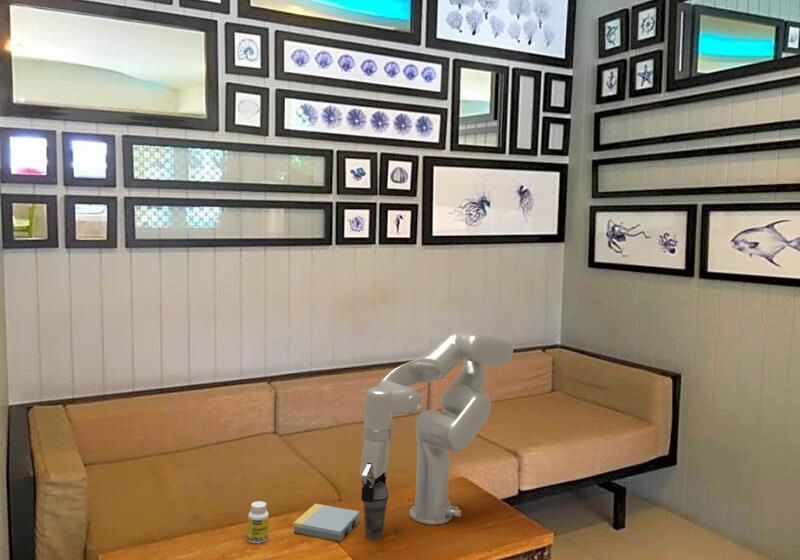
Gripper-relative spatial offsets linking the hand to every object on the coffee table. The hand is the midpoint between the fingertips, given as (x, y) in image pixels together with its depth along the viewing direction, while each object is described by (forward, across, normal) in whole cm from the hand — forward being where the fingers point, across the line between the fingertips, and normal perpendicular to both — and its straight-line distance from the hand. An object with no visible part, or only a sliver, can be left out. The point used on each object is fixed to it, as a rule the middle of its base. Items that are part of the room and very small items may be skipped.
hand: (373, 495), depth 182 cm
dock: (+12, -1, -14) cm, 18 cm away
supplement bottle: (+13, +13, -28) cm, 33 cm away
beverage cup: (+12, -1, 0) cm, 12 cm away
